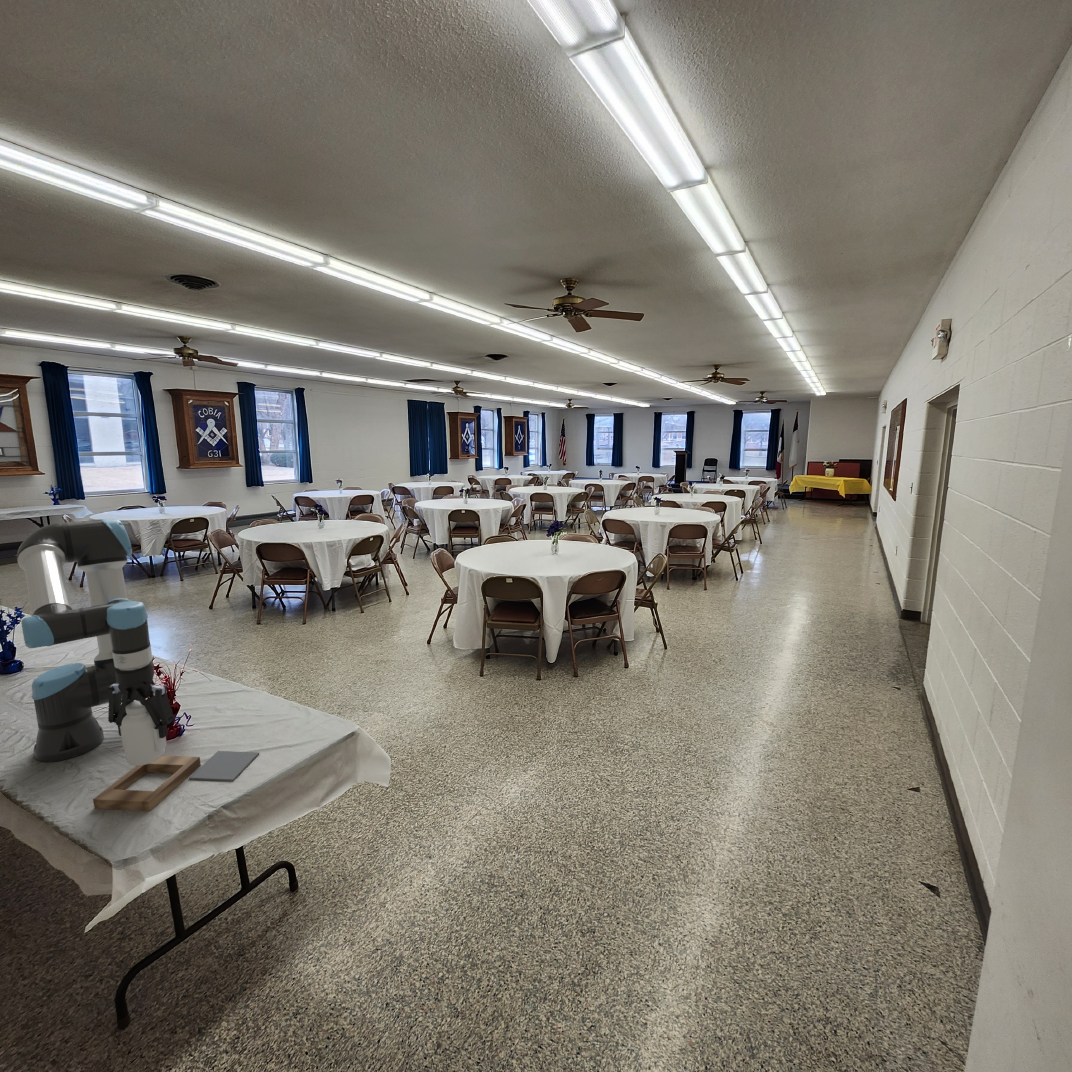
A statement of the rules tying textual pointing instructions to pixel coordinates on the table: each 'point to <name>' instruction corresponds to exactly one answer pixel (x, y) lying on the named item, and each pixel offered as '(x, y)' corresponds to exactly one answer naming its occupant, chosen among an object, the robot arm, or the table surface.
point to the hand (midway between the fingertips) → (145, 747)
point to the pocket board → (146, 800)
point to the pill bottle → (139, 735)
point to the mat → (224, 766)
